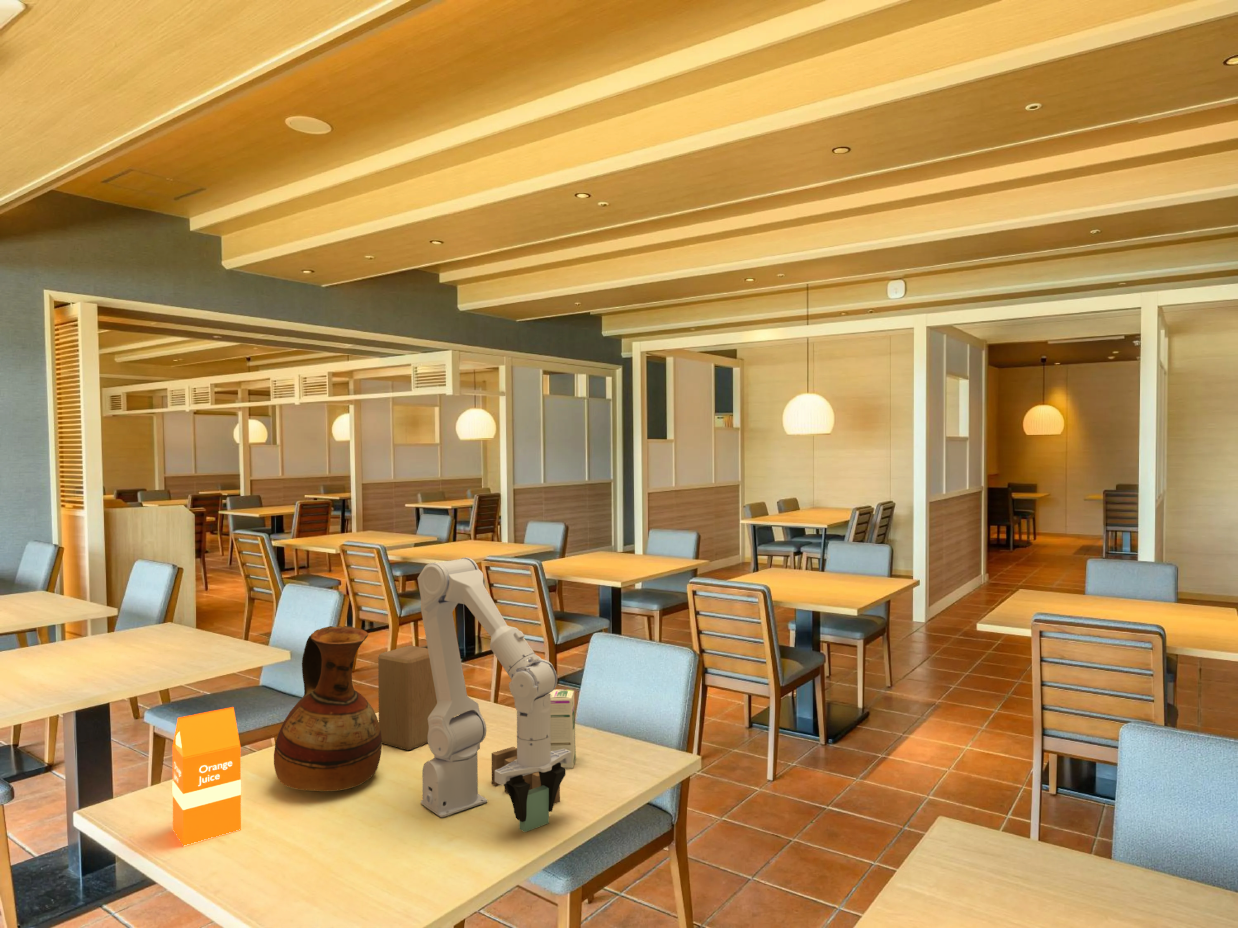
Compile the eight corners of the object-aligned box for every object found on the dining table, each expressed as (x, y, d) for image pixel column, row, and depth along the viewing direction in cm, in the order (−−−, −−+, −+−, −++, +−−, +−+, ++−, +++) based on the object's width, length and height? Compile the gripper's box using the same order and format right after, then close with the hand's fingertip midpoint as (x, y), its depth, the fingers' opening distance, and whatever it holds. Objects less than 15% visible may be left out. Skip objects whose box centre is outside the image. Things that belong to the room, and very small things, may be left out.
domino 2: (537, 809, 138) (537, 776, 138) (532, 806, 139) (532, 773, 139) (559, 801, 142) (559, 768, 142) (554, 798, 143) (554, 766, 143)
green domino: (524, 832, 130) (524, 796, 130) (519, 828, 131) (519, 793, 131) (548, 822, 133) (548, 787, 133) (543, 819, 134) (543, 784, 134)
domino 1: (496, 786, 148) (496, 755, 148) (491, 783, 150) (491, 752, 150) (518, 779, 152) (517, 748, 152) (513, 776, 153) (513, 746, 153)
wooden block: (442, 737, 175) (441, 649, 175) (408, 752, 166) (408, 658, 166) (411, 730, 180) (410, 643, 180) (376, 743, 171) (376, 653, 171)
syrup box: (573, 768, 157) (573, 697, 157) (544, 768, 157) (544, 697, 157) (575, 758, 162) (575, 688, 162) (547, 757, 163) (547, 688, 162)
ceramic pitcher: (311, 813, 137) (310, 644, 137) (252, 785, 149) (252, 630, 149) (402, 777, 153) (402, 625, 153) (343, 754, 165) (342, 614, 165)
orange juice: (241, 829, 131) (240, 711, 131) (183, 847, 125) (182, 723, 125) (228, 814, 137) (228, 701, 137) (172, 830, 131) (171, 712, 131)
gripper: (511, 751, 124) (511, 836, 124) (581, 730, 134) (582, 809, 134) (487, 740, 130) (487, 821, 130) (557, 720, 139) (557, 796, 139)
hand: (534, 814), depth 132 cm, fingers closed on green domino, 5 cm apart
